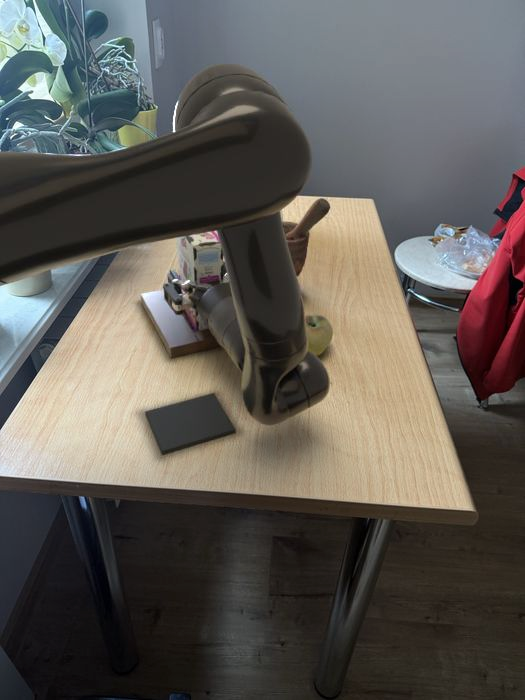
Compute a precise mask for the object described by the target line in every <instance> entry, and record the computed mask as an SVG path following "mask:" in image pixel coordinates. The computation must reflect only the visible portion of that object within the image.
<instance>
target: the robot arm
mask: <svg viewBox="0 0 525 700" xmlns="http://www.w3.org/2000/svg"><path fill="white" fill-rule="evenodd" d="M174 108H175V109H174V114H173V122H172V125H173V126H172V127H173V128H172V129H173V131H172V132H170V133H167V134H164V135H162V136H158V137H154V138H153V139H149V140H146V141H142V142H140V143H137V144H133V145H130V146H127V147H123V148H120V149H115V150H112V151H107V152H106V151H105V152H100V153H99V152H98V153H91V154H90V153H89V154H59V153H46V152H45V153H44V152H33V151H12V150H11V151H8V150H7V151H0V287H2V286H5V285H9V284H13V283H16V282H18V281H22V280H24V279H29V278H30V277H33V276H35V275H39V274H42V273H45V272H48V271H52V270H55V269H58V268H63V267H66V266H70V265H73V264H77V263H80V262H85V261H88V260H91V259H96V258H99V257H102V256H106V255H109V254H112V253H113V254H114V253H116V252H120V251H123V250H126V249H130V248H135V247H139V246H144V245H147V244H152V243H157V242H162V241H167V240H172V239H177V238H178V237H184V236H189V235H195V234H200V233H206V232H211V231H214V232H216V234H217V235H218V237H219V241H220V244H221V248H222V252H223V279H222V280H221V281H219V280H217V281H212V282H205V283H199V282H196V281H192V280H189V281H187V282H186V281H183V280H181V278H180V277H179V273H177V271H176V270H175V269H170V270H169V273H168V272H167V282H164V283H163V284H162V290H164V300H165V301H166V302H167V304H168V305H169V306H170V308H171V309H172V310H173V312H174V313H175V314H176V315H184V310H183V309H187V308H191V307H192V308H193V309H195V310H197V311H198V312H199V314H200V316H201V318H202V319H203V321H204V322H205V324H206V325H207V327H208V328H209V330H210V332H211V334H212V335H213V336H214V337H215V339H216V340H217V342H218V343H219V344H220V345H221V346H220V347H221V348H222V349H224V351H225V352H226V353H227V355H228V357H229V358H230V360H231V361H232V362H233V363H234V365H235V366H236V368H237V370H239V371H240V372H241V375H242V376H241V385H240V386H241V388H240V389H241V396H242V400H243V404H244V407H245V409H246V411H247V413H248V414H249V415H250V417H251V418H252V419H253V420H254V421H256V422H257V423H259V424H261V425H263V426H276V425H278V424H281V423H283V422H285V421H287V420H289V419H291V418H292V417H295V416H296V415H299V414H301V413H302V412H304V411H306V410H308V409H310V408H312V407H314V406H316V405H318V404H320V403H321V402H323V401H324V400H325V399H326V397H327V396H328V394H329V393H330V389H331V388H330V387H331V381H330V380H331V379H330V375H329V372H328V370H327V368H326V366H325V365H324V363H323V361H321V359H320V358H319V357H318V356H316V355H315V354H313V353H312V352H311V351H310V350H308V333H307V326H306V318H305V316H306V310H305V304H304V299H303V296H302V291H301V288H300V284H299V279H298V277H297V276H296V272H295V268H294V265H293V262H292V258H291V255H290V252H289V248H288V245H287V241H286V237H285V233H284V229H283V224H282V219H281V215H280V210H282V211H283V209H285V208H286V207H288V206H289V205H290V204H291V203H292V202H293V201H294V200H295V199H296V198H297V197H298V196H300V194H301V192H302V191H303V189H304V188H305V185H306V184H307V182H308V180H309V177H310V176H311V175H310V174H311V170H312V166H313V152H312V146H311V144H310V140H309V138H308V136H307V133H306V131H305V130H304V128H303V126H302V124H301V123H300V121H299V120H298V118H297V117H296V115H295V114H294V111H292V109H291V108H290V107H289V105H288V104H287V102H286V101H285V100H284V99H283V97H282V96H281V94H280V93H279V92H278V90H277V89H276V88H275V87H274V85H272V84H271V83H270V82H269V81H268V80H267V79H266V78H265V77H263V76H262V75H261V74H260V73H259V72H257V71H255V70H253V69H252V68H249V67H247V66H244V65H240V64H238V63H230V62H225V63H223V62H222V63H217V64H213V65H210V66H208V67H205V68H204V69H202V70H201V71H199V72H198V73H196V74H195V75H193V76H192V77H191V78H190V80H189V81H188V82H187V83H186V84H185V86H184V87H183V89H182V90H181V93H180V94H179V97H178V99H177V102H176V105H175V107H174ZM181 287H183V288H184V290H185V292H184V291H182V289H181ZM193 288H194V289H195V291H194V292H193Z"/></svg>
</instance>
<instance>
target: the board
mask: <svg viewBox="0 0 525 700" xmlns="http://www.w3.org/2000/svg"><path fill="white" fill-rule="evenodd" d="M140 301H141V305H142V306H143V309H144V311H145V312H146V315H147V316H148V318H149V319H150V321H151V323H152V326H153V327H154V329H155V331H156V333H157V334H158V336H159V338H160V340H161V342H162V343H163V345H164V347H165V349H166V351H167V354H168V355H169V357H170V359H174V358H178V357H181V356H185V355H190V354H194V353H199V352H203V351H207V350H212V349H216V348H220V347H222V346H221V345H220V344H219V343H218V342H217V340H216V339H215V337H214V336H213V335H212V334H211V332H210V330H209V329H206V330H201V331H197V332H195V331H194V329H193V328H192V326H191V325H190V323H188V321H187V319H186V318H185V316H184V314H182V315H176V314H175V313H174V312H173V310H172V309H171V308H170V306H169V305H168V304H167V302H166V301H165V300H164V289H159V290H155V291H149V292H144V293H140Z"/></svg>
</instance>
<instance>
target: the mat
mask: <svg viewBox="0 0 525 700" xmlns="http://www.w3.org/2000/svg"><path fill="white" fill-rule="evenodd" d="M144 412H145V413H144V414H145V417H146V419H147V422H148V424H149V426H150V429H151V431H152V433H153V436H154V438H155V441H156V443H157V446H158V449H159V451H160V453H161V455H166V454H168V453H171V452H175V451H179V450H181V449H184V448H189V447H192V446H195V445H199V444H201V443H205V442H209V441H211V440H214V439H218V438H222V437H225V436H228V435H231V434H234V433H236V427H235V426H234V424H233V422H232V421H231V419H230V418H229V416H228V414H227V412H226V411H225V409H224V407H223V406H222V404H221V402H220V400H219V399H218V397H217V395H216V393H215V392H212V393H210V394H205V395H201V396H197V397H193V398H190V399H186V400H183V401H179V402H175V403H171V404H168V405H164V406H161V407H157V408H154V409H153V408H152V409H149V410H146V411H144Z"/></svg>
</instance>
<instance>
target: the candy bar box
mask: <svg viewBox="0 0 525 700" xmlns="http://www.w3.org/2000/svg"><path fill="white" fill-rule="evenodd" d="M176 249H177V250H176V251H177V265H178V275H179V277H180V278H181V280H183V281H186V282H187V281H189V280H192V281H196V282H199V283H205V282H212V281H217V280H219V281H221V280H222V279H223V278H224V277H223V261H224V256H223V252H222V248H221V244H220V241H219V237H218V234H217V232H216V231H211V232H206V233H200V234H195V235H189V236H184V237H178V238H176ZM181 289H182V291H184V292H185V290H184V288H183V287H181ZM194 291H195V289H194V288H193V292H194ZM183 313H184V314H185V316H186V318H187V320H188V321H189V324H190V326H191V328H192V330H193V332H197V331H201V330H206V329H209V328H208V327H207V325H206V324H205V322H204V321H203V319H202V318H201V316H200V314H199V312H198V311H197V310H195V309H193V308H192V307H191V308H187V309H183Z"/></svg>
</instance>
